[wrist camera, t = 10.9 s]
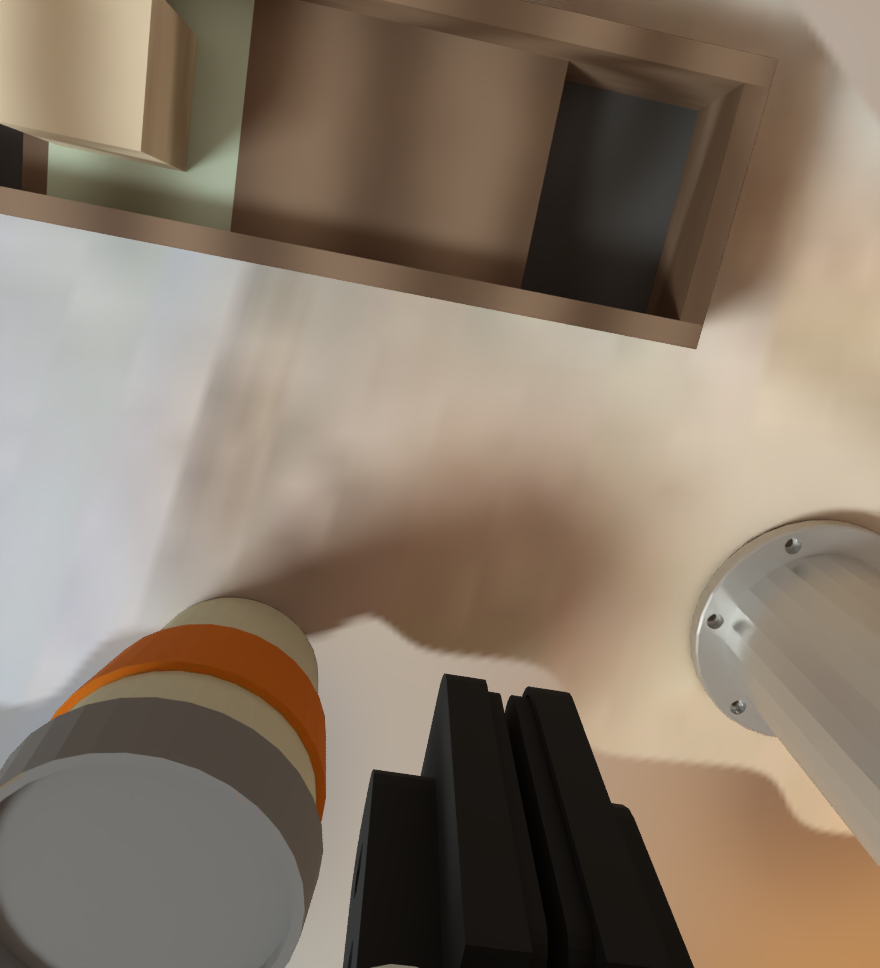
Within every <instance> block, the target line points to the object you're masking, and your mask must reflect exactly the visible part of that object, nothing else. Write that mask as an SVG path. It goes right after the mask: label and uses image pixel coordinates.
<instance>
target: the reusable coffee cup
mask: <svg viewBox="0 0 880 968" xmlns="http://www.w3.org/2000/svg"><path fill="white" fill-rule="evenodd" d="M325 799H326V733H325V716H324V712H323V709H322V705H321V702H320V698H319V696H318V668H317V661H316V658H315V655H314V651H313V648H312V646H311V644H310V643H309V641H308V639H307V637H306V635H305V634H304V633H303V632H302V631H301V629H300V628H299V627H298V626H297V624H295V623H294V622H293V621H292V620H291V619H290V618H288V617H287V616H286V615H285V614H283V613H282V612H280V611H278V610H276V609H274V608H273V607H271V606H269V605H266V604H263V603H260V602H257V601H255V600H249V599H243V598H217V599H212V600H207V601H203V602H201V603H199V604H196V605H194V606H191V607H189V608H188V609H186V610H185V611H183V612H182V613H180V614H179V615H177V616H176V617H175V618H174V619H173V620H171V621H170V622H169V623H168V624H167V625H166V626H165V627H163V628H162V629H161V630H160V631H158V632H156V633H153V634H151V635H148V636H146V637H143V638H142V639H140V640H139V641H137V642H136V643H134V644H133V645H131V646H130V647H128V648H127V649H125V650H124V651H123V652H122V653H120V654H119V655H118V656H117V657H116V658H115V659H113V661H111V662H110V663H109V664H108V665H106V666H105V667H104V668H103V669H102V670H100V671H99V672H98V673H97V674H96V675H95V676H93V677H92V678H91V679H90V680H89V681H88V682H86V683H85V684H84V685H83V686H82V687H81V688H79V689H78V690H77V691H76V692H75V693H74V694H73V695H72V696H71V697H70V698H69V699H68V700H67V701H66V702H65V703H64V704H63V705H62V706H61V707H60V708H59V709H58V710H57V711H56V712H55V714H54V716H53V718H52V719H51V721H49V722H48V723H46V724H45V725H43V726H42V727H40V728H39V729H37V730H36V731H34V732H33V733H31V734H30V735H29V736H28V737H27V738H26V739H25V740H24V741H23V742H22V743H21V744H20V746H19V747H17V749H16V750H15V751H14V752H13V753H12V754H11V755H10V756H9V758H8V759H7V761H6V762H5V764H4V765H3V767H2V768H1V770H0V968H284V967H285V966H286V965H287V963H288V962H289V961H290V958H291V956H292V954H293V952H294V950H295V947H296V945H297V943H298V941H299V938H300V936H301V932H302V929H303V926H304V923H305V919H306V916H307V913H308V909H309V906H310V903H311V899H312V896H313V893H314V890H315V886H316V883H317V880H318V876H319V871H320V865H321V860H322V855H323V842H322V824H321V820H322V815H323V810H324V805H325Z"/></svg>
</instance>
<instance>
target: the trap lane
mask: <svg viewBox="0 0 880 968" xmlns="http://www.w3.org/2000/svg"><path fill="white" fill-rule="evenodd" d="M165 1H166V2H167V3H168V4H169V5H170V6H171V7H172V8H173V10H174V11H175V12H176V13H177V14H178V15H179V16H180V17H181V18H182V19H183V21H184V22H185V23H186V24H187V25H188V26H189V27H190V28H191V29H192V31H193V32H194V33H195V34H196V35H197V36H198V43H197V54H196V65H195V76H194V87H193V99H192V110H191V121H190V132H189V143H188V154H187V165H186V172H183V171H178V170H173V169H168V168H163V167H158V166H153V165H149V164H144V163H139V162H134V161H129V160H124V159H120V158H115V157H110V156H105V155H100V154H95V153H91V152H86V151H81V150H76V149H71V148H66V147H61V146H59V145H56V144H53V143H51V142H48V141H45V140H42V139H40V138H37V137H34V136H32V135H29V134H26V133H24V132H21V131H18V130H16V129H13V128H10V127H8V126H5V125H2V124H0V214H5V215H10V216H15V217H20V218H25V219H31V220H36V221H41V222H46V223H51V224H56V225H61V226H67V227H72V228H77V229H82V230H87V231H92V232H97V233H102V234H108V235H113V236H118V237H123V238H128V239H133V240H138V241H143V242H149V243H154V244H159V245H164V246H169V247H174V248H179V249H184V250H190V251H195V252H200V253H205V254H210V255H215V256H220V257H225V258H231V259H236V260H241V261H246V262H251V263H256V264H261V265H266V266H272V267H277V268H282V269H287V270H292V271H297V272H302V273H307V274H313V275H318V276H323V277H328V278H333V279H338V280H343V281H348V282H354V283H359V284H364V285H369V286H374V287H379V288H384V289H389V290H395V291H400V292H405V293H410V294H415V295H420V296H425V297H431V298H436V299H441V300H446V301H451V302H456V303H461V304H466V305H472V306H477V307H482V308H487V309H492V310H497V311H502V312H507V313H513V314H518V315H523V316H528V317H533V318H538V319H543V320H548V321H554V322H559V323H564V324H569V325H574V326H579V327H584V328H589V329H595V330H600V331H605V332H610V333H615V334H620V335H625V336H630V337H636V338H641V339H646V340H651V341H656V342H661V343H666V344H671V345H677V346H682V347H687V348H692V349H697V345H698V342H699V338H700V334H701V331H702V327H703V324H704V320H705V317H706V313H707V310H708V306H709V302H710V299H711V295H712V292H713V288H714V285H715V281H716V278H717V274H718V270H719V267H720V263H721V260H722V256H723V253H724V249H725V246H726V242H727V238H728V235H729V231H730V228H731V224H732V221H733V217H734V214H735V210H736V206H737V203H738V199H739V196H740V192H741V189H742V185H743V182H744V178H745V174H746V171H747V167H748V164H749V160H750V157H751V153H752V150H753V146H754V142H755V139H756V135H757V132H758V128H759V125H760V121H761V118H762V114H763V110H764V107H765V103H766V100H767V96H768V93H769V89H770V86H771V82H772V78H773V75H774V71H775V68H776V64H777V61H778V59H774V58H770V57H765V56H761V55H757V54H752V53H748V52H744V51H739V50H735V49H731V48H726V47H722V46H718V45H713V44H709V43H705V42H700V41H696V40H692V39H687V38H683V37H679V36H674V35H670V34H666V33H661V32H657V31H653V30H648V29H644V28H640V27H635V26H631V25H627V24H622V23H618V22H614V21H609V20H605V19H601V18H596V17H592V16H588V15H583V14H579V13H575V12H570V11H566V10H562V9H557V8H553V7H549V6H544V5H540V4H536V3H531V2H527V1H523V0H165Z"/></svg>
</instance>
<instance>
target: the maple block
mask: <svg viewBox="0 0 880 968" xmlns="http://www.w3.org/2000/svg"><path fill="white" fill-rule="evenodd" d="M197 43H198V36H197V35H196V34H195V33H194V32H193V31H192V29H191V28H190V27H189V26H188V25H187V24H186V23H185V22H184V21H183V19H182V18H181V17H180V16H179V15H178V14H177V13H176V12H175V11H174V10H173V8H172V7H171V6H170V5H169V4H168V3H167V2H166V1H165V0H0V124H2V125H5V126H8V127H10V128H13V129H16V130H18V131H21V132H24V133H26V134H29V135H32V136H34V137H37V138H40V139H42V140H45V141H48V142H51V143H53V144H56V145H59V146H61V147H66V148H71V149H76V150H81V151H86V152H91V153H95V154H100V155H105V156H110V157H115V158H120V159H124V160H129V161H134V162H139V163H144V164H149V165H153V166H158V167H163V168H168V169H173V170H178V171H183V172H186V165H187V154H188V143H189V132H190V121H191V110H192V99H193V87H194V76H195V65H196V54H197Z"/></svg>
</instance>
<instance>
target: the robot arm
mask: <svg viewBox="0 0 880 968" xmlns="http://www.w3.org/2000/svg"><path fill="white" fill-rule="evenodd" d="M788 540H789V541H788ZM787 541H788V542H787ZM786 542H787V543H786ZM711 615H712V616H711ZM709 616H710V617H709ZM690 647H691V658H692V661H693V665H694V668H695V672H696V675H697V677H698V679H699V681H700V682H701V684H702V686H703V688H704V690H705V691H706V693H707V694H708V695H709V697H710V698H711V699H712V701H713V702H714V703H715V705H716V706H717V707H718V708H719V709H720V710H721V711H722V712H723V713H724V714H725V715H726V716H727V717H728V718H730V719H731V720H733V721H735V722H736V723H738V724H740V725H741V726H743V727H745V728H746V729H749V730H752V731H754V732H757V733H760V734H763V735H766V736H772V737H777V738H778V739H779V740H780V741H781V743H782V744H783V745H784V746H785V748H786V749H787V750H788V752H789V753H790V754H791V755H792V757H793V758H794V759H795V760H796V762H797V763H798V764H799V765H800V767H801V768H802V769H803V771H804V772H805V773H806V774H807V776H808V777H809V778H810V779H811V781H812V782H813V783H814V785H815V786H816V787H817V788H818V790H819V791H820V792H821V793H822V795H823V796H824V797H825V799H826V800H827V801H828V802H829V804H830V805H831V806H832V807H833V809H834V810H835V811H836V813H837V814H838V815H839V816H840V818H841V819H842V820H843V821H844V823H845V824H846V825H847V827H848V828H849V829H850V830H851V832H852V833H853V834H854V835H855V837H856V838H857V839H858V841H859V842H860V843H861V844H862V846H863V847H864V848H865V849H866V851H867V852H868V853H869V855H870V856H871V857H872V858H873V860H874V861H875V862H876V863H877V865H878V866H879V867H880V535H879V534H877V533H875V532H873V531H871V530H868V529H866V528H863V527H861V526H858V525H856V524H852V523H846V522H840V521H835V520H810V521H804V522H799V523H794V524H789V525H785V526H783V527H780V528H777V529H775V530H772V531H770V532H767V533H764V534H763V535H761V536H759V537H758V538H756V539H754V540H752V541H751V542H749V543H747V544H746V545H744V546H743V547H742V548H740V549H739V550H738V551H737V552H736V553H734V554H733V555H732V556H731V557H730V558H728V559H727V560H726V561H725V562H724V564H723V565H722V566H721V567H720V568H719V569H718V571H717V572H716V573H715V574H714V575H713V576H712V578H711V579H710V581H709V583H708V584H707V586H706V588H705V589H704V591H703V593H702V594H701V596H700V599H699V601H698V604H697V607H696V610H695V612H694V615H693V620H692V626H691V633H690ZM343 968H694V966H693V964H692V961H691V959H690V956H689V954H688V951H687V949H686V946H685V944H684V941H683V939H682V936H681V934H680V932H679V929H678V927H677V924H676V922H675V919H674V916H673V914H672V911H671V909H670V906H669V904H668V902H667V899H666V897H665V894H664V892H663V889H662V886H661V884H660V881H659V879H658V877H657V874H656V872H655V869H654V867H653V864H652V862H651V859H650V857H649V854H648V852H647V849H646V847H645V844H644V842H643V839H642V837H641V834H640V832H639V829H638V827H637V824H636V822H635V819H634V817H633V816H632V814H631V812H630V810H629V809H628V808H627V807H625V806H624V805H621V804H614V803H611V801H610V798H609V796H608V793H607V790H606V788H605V785H604V782H603V780H602V777H601V774H600V772H599V769H598V766H597V763H596V761H595V758H594V755H593V752H592V750H591V747H590V744H589V742H588V739H587V736H586V733H585V731H584V728H583V725H582V723H581V720H580V717H579V715H578V712H577V709H576V706H575V704H574V701H573V698H572V696H571V695H570V693H567V692H561V691H555V690H548V689H542V688H535V687H527V688H526V689H525V691H524V693H523V696H522V697H521V696H514V695H511V696H510V697H509V700H508V702H507V706H506V710H505V713H504V708H503V704H502V699H501V695H500V694H499V693H494V692H488V687H487V683H486V680H483V679H477V678H470V677H464V676H457V675H450V674H444V675H443V677H442V680H441V684H440V688H439V693H438V697H437V702H436V707H435V711H434V716H433V721H432V725H431V730H430V735H429V739H428V744H427V749H426V753H425V758H424V763H423V767H422V772H421V776H416V775H409V774H402V773H395V772H387V771H381V770H373V771H372V774H371V778H370V783H369V787H368V792H367V798H366V803H365V808H364V813H363V818H362V824H361V829H360V835H359V841H358V847H357V854H356V860H355V868H354V874H353V882H352V890H351V898H350V907H349V917H348V926H347V935H346V944H345V953H344V962H343Z"/></svg>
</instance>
